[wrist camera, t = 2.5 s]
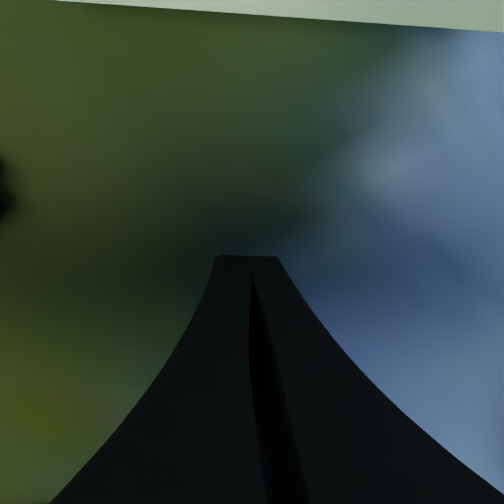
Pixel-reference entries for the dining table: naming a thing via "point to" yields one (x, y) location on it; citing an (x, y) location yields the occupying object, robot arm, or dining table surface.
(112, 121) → the dining table surface
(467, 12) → the tray
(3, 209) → the handgun
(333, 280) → the dining table surface
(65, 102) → the dining table surface
